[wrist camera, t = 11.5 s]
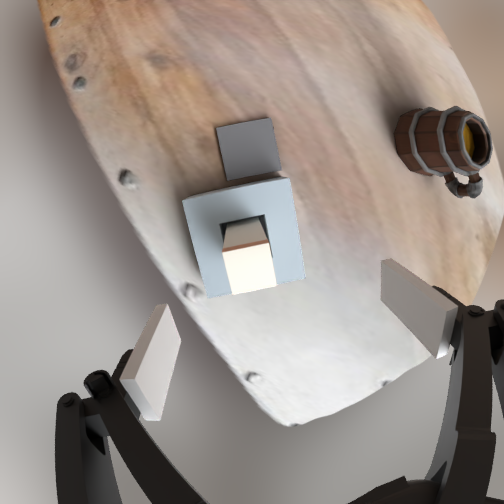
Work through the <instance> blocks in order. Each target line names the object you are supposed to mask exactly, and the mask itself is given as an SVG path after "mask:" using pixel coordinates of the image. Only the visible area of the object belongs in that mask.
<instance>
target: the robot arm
mask: <svg viewBox="0 0 504 504" xmlns="http://www.w3.org/2000/svg"><path fill="white" fill-rule="evenodd" d="M381 301H382V302H383V303H384V304H385V305H386V306H387V307H388V308H389V309H390V310H391V311H392V312H393V313H394V314H395V315H396V316H397V317H398V318H399V319H400V320H401V321H402V322H403V323H404V325H405V326H406V327H407V328H408V329H409V330H410V331H411V332H412V333H413V334H414V335H415V336H416V337H417V339H418V340H419V341H420V342H421V343H422V344H423V345H424V346H425V347H426V348H427V350H428V351H429V352H430V353H431V354H432V355H433V356H434V357H435V358H436V359H438V358H440V357H442V356H444V355H446V354H447V353H448V349H449V346H450V344H451V345H452V346H453V347H454V351H453V354H452V358H451V361H450V364H449V365H451V364H452V366H451V375H450V383H449V390H448V396H447V402H446V408H445V413H444V418H443V423H442V428H441V432H440V436H439V440H438V443H437V447H436V451H435V454H434V458H433V461H432V464H431V467H430V469H429V471H428V473H427V475H426V477H425V479H424V480H410V481H406V478H405V476H403V477H400V478H398V479H396V480H393V481H391V482H389V483H386V484H383V485H381V486H378V487H376V488H374V489H373V490H371V491H369V492H368V493H366V494H364V495H363V496H361V497H359V498H357V499H356V500H354V501H352V502H350V503H348V504H504V500H500V499H495V498H491V497H486V494H487V489H488V485H489V481H490V476H491V471H492V465H493V459H494V452H495V444H496V434H495V433H494V432H493V433H492V432H491V417H492V375H493V378H494V382H495V385H496V389H497V392H498V396H499V400H500V404H501V408H502V413H503V418H504V300H498V301H497V302H496V304H495V308H494V310H491V311H485V310H484V309H482V308H481V307H479V306H475V305H469V306H467V307H466V306H465V305H464V304H462V303H461V302H460V301H458V300H457V299H456V298H454V297H452V296H451V295H450V294H449V293H447V292H446V291H445V290H443V289H442V288H439V287H436V286H430V285H429V284H427V283H426V282H425V281H423V280H422V279H420V278H419V277H418V276H416V275H415V274H413V273H412V272H410V271H409V270H408V269H406V268H405V267H403V266H402V265H400V264H399V263H397V262H396V261H394V260H393V259H386V260H382V261H381ZM180 343H181V339H180V336H179V334H178V331H177V328H176V326H175V323H174V320H173V317H172V315H171V312H170V309H169V306H168V304H162V305H156V307H155V309H154V310H153V312H152V314H151V316H150V318H149V320H148V322H147V324H146V326H145V328H144V330H143V332H142V334H141V336H140V338H139V340H138V342H137V344H136V346H135V348H134V349H131V350H128V351H126V352H125V354H124V355H122V357H121V359H120V361H119V363H118V365H117V367H116V369H115V371H114V373H113V375H112V377H110V375H109V373H108V372H107V371H104V370H97V371H95V372H93V373H91V374H89V375H88V376H87V377H86V378H85V380H84V386H85V388H86V390H87V391H88V393H89V394H90V395H91V397H90V398H86V399H81V398H80V397H79V396H78V394H76V393H73V392H71V393H67V394H65V395H63V396H62V397H61V398H60V399H59V401H58V404H57V413H56V431H55V471H56V487H57V496H58V504H122V501H121V498H120V494H119V490H118V486H117V483H116V479H115V475H114V470H113V466H112V461H111V456H110V451H109V445H108V439H107V436H110V437H111V438H112V440H113V442H114V444H115V446H116V448H117V449H118V451H119V453H120V455H121V457H122V458H123V460H124V462H125V463H126V465H127V467H128V468H129V470H130V472H131V473H132V475H133V477H134V478H135V480H136V481H137V483H138V484H139V486H140V487H141V489H142V490H143V492H144V493H145V494H146V496H147V497H148V499H149V500H150V501H151V503H152V504H209V503H208V502H207V501H206V500H205V499H204V498H203V497H202V496H201V495H200V494H199V493H198V492H197V491H196V490H195V489H194V487H193V486H192V485H191V484H190V483H189V482H188V481H187V480H186V479H185V478H184V477H183V476H182V474H181V473H180V472H179V471H178V470H177V469H176V468H175V466H174V465H173V464H172V463H171V462H170V461H169V459H168V458H167V457H166V455H165V454H164V453H163V452H162V451H161V449H160V448H159V447H158V445H157V444H156V443H155V441H154V440H153V439H152V437H151V436H150V435H149V433H148V432H147V431H146V429H145V428H144V427H143V425H142V424H141V422H140V421H139V416H140V413H141V414H142V416H143V417H144V419H145V420H146V421H160V420H161V416H162V412H163V408H164V404H165V400H166V396H167V392H168V388H169V384H170V380H171V376H172V373H173V369H174V365H175V362H176V358H177V354H178V351H179V347H180Z"/></svg>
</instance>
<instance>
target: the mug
mask: <svg viewBox="0 0 504 504" xmlns="http://www.w3.org/2000/svg"><path fill="white" fill-rule="evenodd" d="M394 135H395V141H396V146H397V152H398V155H399V157H400V158H401V159H402V161H403V162H404V163H405V165H406V166H407V167H408V169H409V170H410V171H412V172H416V173H419V174H423V175H427V176H432V175H437V176H440V177H442V176H444V178H445V180H446V183H445V185H446V186H447V187H448V189H449V190H450V191H451V193H453V194H454V195H455V196H457V197H458V198H462V197H464V196H470V198H476V197H477V196H479V195H480V193H481V192H482V188H483V183H482V182H483V180H482V178H481V177H480V176H479V173H478V172H479V170H480V169H482V168H483V167H485V166H486V165H487V164H489V162H490V158H491V154H492V150H493V148H492V140H491V134H490V131H489V130H488V128H487V126H486V124H485V122H484V120H483V119H482V118H480V117H479V116H477V115H475V114H474V113H471V112H470V111H465V110H463V109H461V108H460V107H458V106H454V107H452V108H449V109H447V110H445V111H439V110H437V109H434V108H432V107H428V108H425V109H420V108H419V109H415V110H412V111H410V112H408V113H406V114H404V115H401V116H400V119H399V122H398V124H397V127H396V130H395V132H394ZM453 172H456V173H459V174H461V175H464V176H468V177H469V182H468V184H462V183H459V181H458V179H457V178H455V176H454V173H453Z"/></svg>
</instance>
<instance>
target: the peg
mask: <svg viewBox="0 0 504 504" xmlns="http://www.w3.org/2000/svg"><path fill="white" fill-rule="evenodd" d="M222 255H223V259H224V263H225V267H226V271H227V275H228V279H229V283H230V287H231V291H232V295H235V294H240V293H245V292H250V291H255V290H259V289H264V288H269V287H274V286H277V283H276V277H275V272H274V266H273V261H272V256H271V250H270V245H269V241H268V239H267V237H266V235H265V232H264V230H263V228H262V225H261V223H260V221H259V218H258V217H255V218H251V219H246V220H241V221H236V222H232V223H227V228H226V233H225V239H224V245H223V249H222Z"/></svg>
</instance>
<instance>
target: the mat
mask: <svg viewBox="0 0 504 504" xmlns="http://www.w3.org/2000/svg"><path fill="white" fill-rule="evenodd" d="M216 130H217V135H218V139H219V144H220V149H221V154H222V158H223V163H224V168H225V172H226V177H227V181H229V180H234V179H239V178H243V177H248V176H253V175H258V174H264V173H269V172H274V171H280V170H282V168H281V163H280V158H279V153H278V148H277V143H276V139H275V134H274V129H273V125H272V120H271V118H266V119H260V120H254V121H248V122H243V123H238V124H233V125H228V126H223V127H219V128H216Z"/></svg>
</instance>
